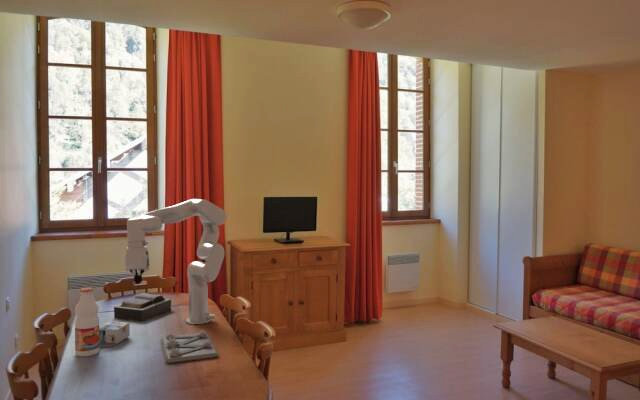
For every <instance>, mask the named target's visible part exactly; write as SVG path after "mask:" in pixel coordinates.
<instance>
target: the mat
mask: <svg viewBox="0 0 640 400" xmlns="http://www.w3.org/2000/svg"><path fill="white" fill-rule="evenodd" d="M119 343H121V342H119ZM119 343H118V344H119ZM118 344H117V343H104V342H99V348H115V346H117V345H118Z"/></svg>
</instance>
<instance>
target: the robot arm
mask: <svg viewBox="0 0 640 400" xmlns="http://www.w3.org/2000/svg"><path fill="white" fill-rule="evenodd" d="M195 216H198V218H199V220H200V222H201V224H202V227H203V228H202V229H203V231H202V236H201V237H200V240H199V243H198V247H197V250H196V256H197V257H198V258H199V259H201V260H204V261H199V260H195V261H192V262H190V264H188V267H187V269H186V274H187V280H188V317H187V318H186V319H185V322H186V324H189V325H195V324H197V325H204V323H205V324H208V323H210V322H211V320H212V319H213V320H214V319H216V318H217V317H216V314H215V313H213V314H211V313H210V311H209V308H208V307H209V299H208V297H209V296H208V293H209V292H208V289H209V287H208V283H210V282H212V283H213V282H214V281H215V280H216V279H217V277H218V276H219V273H220V270H221V267H222V265H223V262H224V258H225V249H224V246H223V245H222V244H220V243H219V242H218V240H219V236H220V228H219V226H222V225H223V224H225V222H226V221H227V218H228V217H227V213H226V211H225V210H224V209H222V208H221V207H219V206H217V205H216V204H214V203H213V202H210V201H209V200H207V199H204V198H203V199H200V198H191V199H188V200H186V201H183V202H180V203H177V204H174V205H172V206H166V207H164V208H160V209H159V208H158V209H156V210H152V211H149V212H146V213H143V214H141V215H139V216H138V217H131V218H128V219H127V221H126V233H127V234H126V235H127V236H126V237H127V247H126V251H125V260H124V262H125V263H124V264H125V271H127V272H130V273H131V274H132V276H133V278H134V279H133V281H134V282H133V283H134V284H135V285H140V284H141V283H142V281H143V274H145V272H148V271H150V266H151V260H150V252H149V249H148V247H147V246H148V244H149V242H148V241H146V236H145V233H156V232H159V231H161V229H162V227H163V224H176V223H181V222H182V221H186V220H188V219H189V218H192V217H195Z"/></svg>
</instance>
